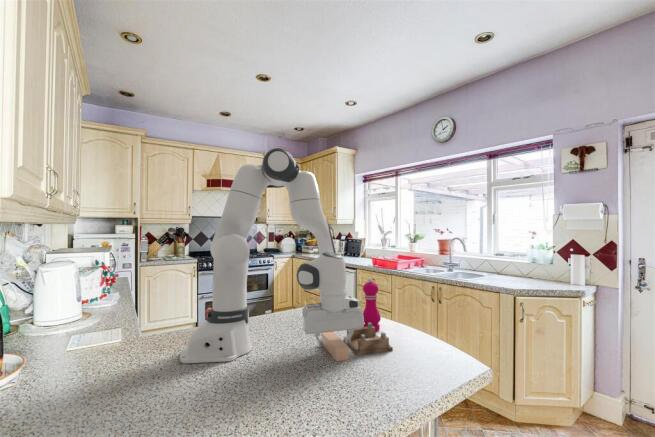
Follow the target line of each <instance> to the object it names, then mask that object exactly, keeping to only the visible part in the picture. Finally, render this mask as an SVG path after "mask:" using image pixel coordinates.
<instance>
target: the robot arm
mask: <svg viewBox="0 0 655 437" xmlns="http://www.w3.org/2000/svg"><path fill="white" fill-rule="evenodd" d="M283 187H285V188H286V190H287V192H288V199H289V200H288V202H289V211H290V215H291V218H292V220H293V221H294V223H296V224H297V225H298V226H299V227H301V228H303V229H306V230H307V231H308V232H310V233H312V234H313V237H315V240H316V245H317V248H318V253H319V256H318V257H316V258H315V259H313V260H312V259H311V260H310V261H307V262H304V263H302V264H300V265H299V266H298V268H297V270H296V280H297V283H298V285H299V287H300V288H302V289H303V290H306V291H313V290H319V302H317V303H313V304H311V303H309V304H308V303H307V304H306V305H305V306H304V307H302V311H301V312H302V318H303V322H302V324H303V325H302V329H303V332H304V333H305V334H306V335H313V336H314V337H315V339H316V340H317V347H318V348H320V347H324V345H323V341H322V339H320V338H319V337H321V336H320V334H321V333H326V332H334V333H335V332H341V331H342V332H343V331H347V330H348V331H349V333H348V335H347V334H346V336H344V337H345V341H344V343H345V344H347V343H351V337H352V335H353V333H354V329H361V328H363V327H364V324H365V323H364V316H363V312H364V310H363V309H362V308H361V306H362V303H361V300H359V299H357V298H356V297H354V296H350V295H347V290H346V289H347V288H346V283H347V270H346V269H347V268H346V261H345V258H344V256H343V255H341V254H339V253H337V252H336V248H335V244H334V239H333V234H332V231H331V227H330V223H329V221H328V219H327V218H326V216H325V213H324V211H323V207H322V202H321V201H322V200H321V195H320V194H321V193H320V190H319V189H320V188H319V184H318V182H317V179H316V177H315V174H314V173H312V172H310V171H309V170H308V171H307V170H300V166H299V164H298V163H297V162H296V160H295V158H294V156H292V154H291V153H290V152H289V151H288V150H286V149H284V148H281V147H278V148H277V147H276V148H272V149H270V150H268V151H267V152H266V153H265V155H264V157H263V159H262V161H261V164H259V165H255V164H248V163H247V164H244V165H241V166H240V167H239V169H238V170H237V172H236V175H235V177H234V178H233V181H232V183H231V187H230V189H229V191H228V195H227V199H226V202H225V205H224V209H223V212H222V214H221V216H220V219H219V221H218V224H217V227H216V229H215V232H214V235H213V238H212V241H211V244H210V248H209V249H210V250H209V251H210V255H211V257H212V258H213V272H212V273H213V274H212V286H211V287H212V298H211V299H212V307H207V309H205V319H206V320H205V321H204V322H203V323H202V324H201V325H200V326H198V327H197V328H196V329H195V330H194V331H193V332H192V333H191V334H190V336H189V338H188V341H187V346H186V347H184V348H183V349H182V350H181V352H179V362H180V363H182V364H198V363H199V364H200V363H201V364H202V363H220V362H222V363H223V362H232V361H234V360H235V359H238V357H241V356H244V355H245V354H247V353H249V352H251V351H252V349H253V344H252V341H251V337H250V330H249V320H250V318H249V316H250V314H249V312H250V311H249V305H248V304H247V303H248V296H247V295H248V293H247V292H248V289H247V286H248V284H247V283H248V275H249V262H250V253H251V252H250V251H251V250H250V245H249V243H248V241H247V240H248V238H249V235H250V233H251V231H252V228H253V226H254V224H255V223H256V219H257V217H258V213H259V209H260V206H261V202H262V200H263V199H262V198H263V195H264V192H265V190H266V189H267V188H268V189H272V188H275V189H276V188H277V189H279V188H283Z"/></svg>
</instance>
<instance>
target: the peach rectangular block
mask: <svg viewBox="0 0 655 437" xmlns="http://www.w3.org/2000/svg"><path fill="white" fill-rule="evenodd" d="M320 334H321V336H320V337H321V339H322V341H323V347H324V348H325V349H326V351H328V353H329V354H330V356H332V358H333V359H334V360H335V361H336V362H341V361H347V360H350V352H349V350H350V346H349V345H348V344H347V343H345V341H344V340H342V339H341V338H340V337H339V336H338V335H337V334H336V333H335V332H326V333H320ZM321 339H320V340H321Z"/></svg>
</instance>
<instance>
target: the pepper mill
mask: <svg viewBox="0 0 655 437" xmlns="http://www.w3.org/2000/svg"><path fill="white" fill-rule="evenodd" d="M373 280H374V279H373V278H372V277H370V278H368V279H367V281H368V282H366V283H364V285H363V286H362V292H363V293H364V298H363V299H365V307H364V310H363V316H364V326H363V327H368V323H370V322H371V323H372V326H373V327H375V332H378V331H380V327H381V326H380V322H381V314H380V311H379V309H378V307H377V299H378V292H379V286H378V284H377V283H375V282H374V281H373Z"/></svg>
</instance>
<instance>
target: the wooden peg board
mask: <svg viewBox="0 0 655 437" xmlns="http://www.w3.org/2000/svg"><path fill="white" fill-rule="evenodd" d="M348 333H349V331H348V330H346V336H347V335H348ZM386 334H387V333H385V332H384V331H382V332H380V336H379V335H377V334H376V331H375V327H373V326H372V323H371V322H370V323H368V327H364V326H363V328H361V329H354V333H353V335H352V337H351V343H346V345H347V346H348V347H349V348H351V349H352V351H353V352H354V353H355V354H356V355H357V356H362V355H370V354H376V353H377V354H378V353H383V352H384V353H386V352H392V351H393V350H394V348H393V347H392V346H391V345H390V338H389V337H388V336H387V335H386ZM346 336H344V337H343V342H345V337H346Z"/></svg>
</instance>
